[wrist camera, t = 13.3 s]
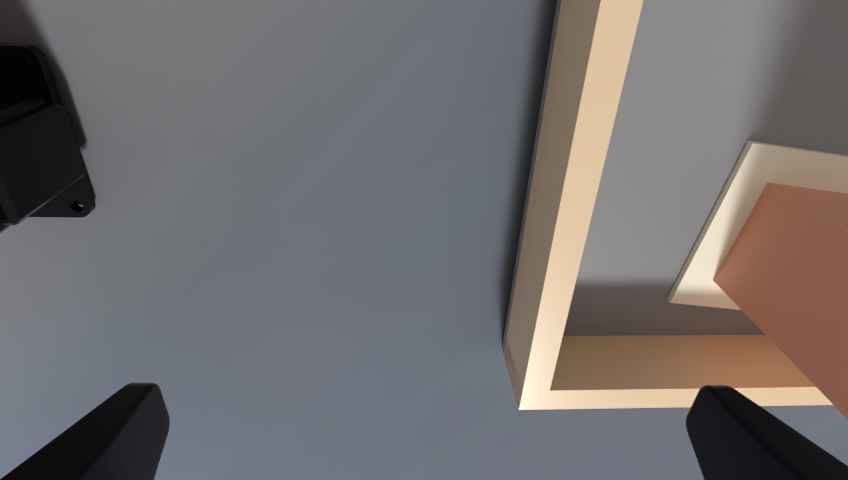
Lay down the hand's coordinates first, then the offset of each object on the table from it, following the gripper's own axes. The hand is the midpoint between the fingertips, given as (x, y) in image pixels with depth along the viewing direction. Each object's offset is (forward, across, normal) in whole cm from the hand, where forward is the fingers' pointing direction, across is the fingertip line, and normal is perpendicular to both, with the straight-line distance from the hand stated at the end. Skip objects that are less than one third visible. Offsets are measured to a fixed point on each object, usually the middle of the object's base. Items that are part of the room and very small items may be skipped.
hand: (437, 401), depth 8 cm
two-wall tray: (+13, -14, +2) cm, 19 cm away
